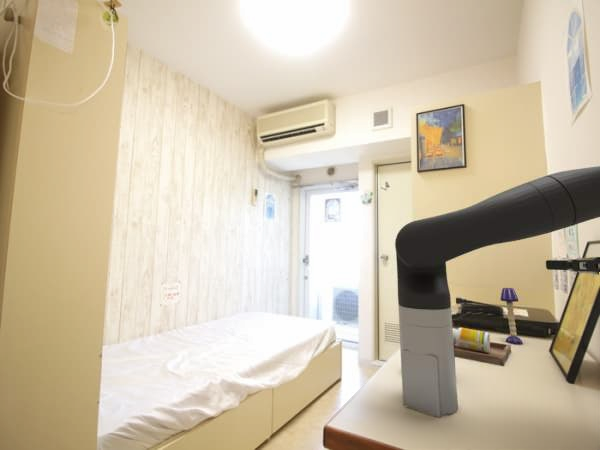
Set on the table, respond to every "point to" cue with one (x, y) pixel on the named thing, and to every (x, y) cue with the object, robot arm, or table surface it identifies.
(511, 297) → the toy lamp
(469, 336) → the supplement bottle
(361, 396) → the table surface
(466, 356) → the tray
